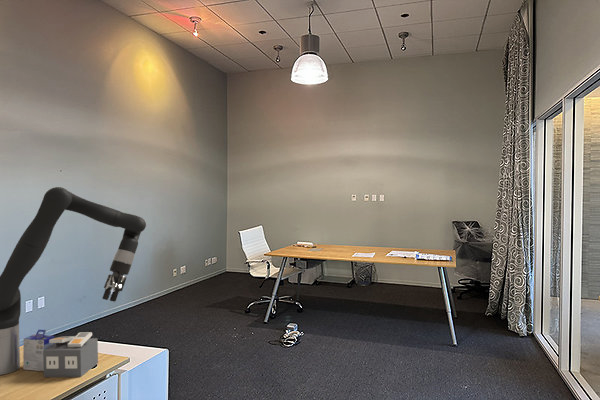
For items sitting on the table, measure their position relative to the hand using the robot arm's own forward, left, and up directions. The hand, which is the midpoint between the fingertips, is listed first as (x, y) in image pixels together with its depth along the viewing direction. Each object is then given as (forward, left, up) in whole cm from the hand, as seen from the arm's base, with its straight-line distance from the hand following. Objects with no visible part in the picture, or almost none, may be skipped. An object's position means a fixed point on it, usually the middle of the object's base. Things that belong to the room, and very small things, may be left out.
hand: (108, 300), depth 162 cm
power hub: (-10, -10, -24) cm, 28 cm away
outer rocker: (-6, -10, -12) cm, 17 cm away
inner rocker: (-13, -10, -12) cm, 21 cm away
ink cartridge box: (-24, -8, -25) cm, 35 cm away
